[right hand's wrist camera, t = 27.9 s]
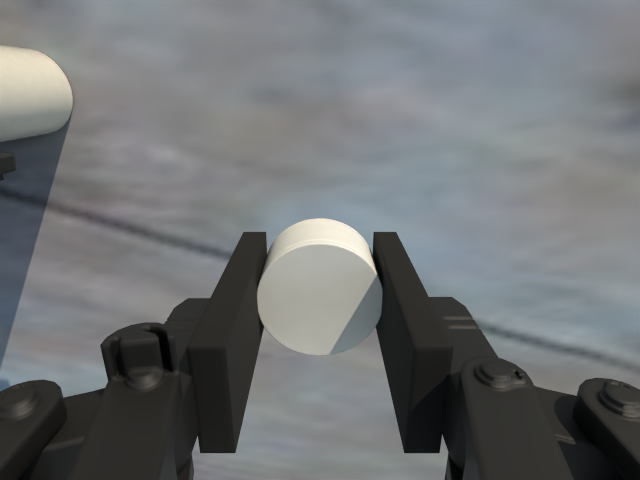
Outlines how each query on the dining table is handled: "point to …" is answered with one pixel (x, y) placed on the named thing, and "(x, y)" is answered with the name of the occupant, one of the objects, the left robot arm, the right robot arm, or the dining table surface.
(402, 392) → the right robot arm
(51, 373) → the dining table surface
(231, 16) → the dining table surface
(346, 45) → the dining table surface
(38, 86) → the bottle
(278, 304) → the cap
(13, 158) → the left robot arm
